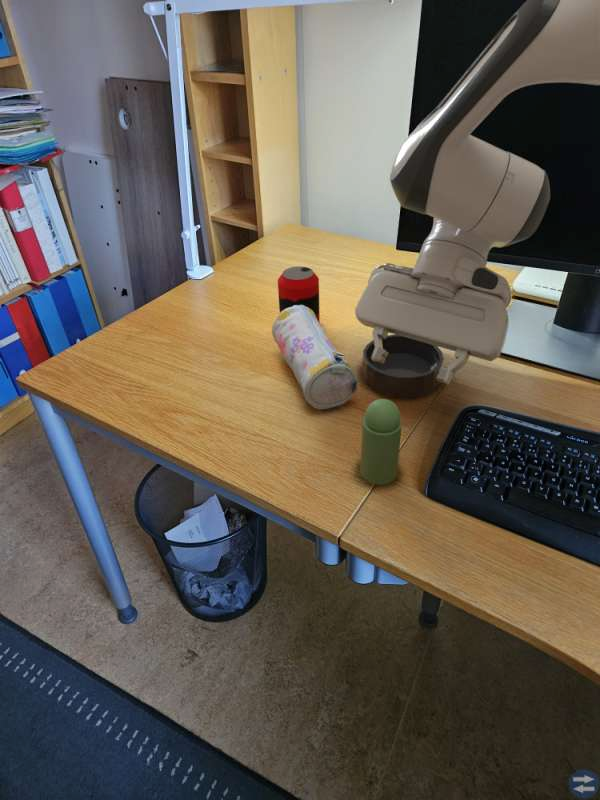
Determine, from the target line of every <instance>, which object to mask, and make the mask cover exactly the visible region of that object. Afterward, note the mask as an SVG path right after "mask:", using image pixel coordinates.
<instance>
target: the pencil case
mask: <svg viewBox="0 0 600 800" xmlns="http://www.w3.org/2000/svg"><path fill="white" fill-rule="evenodd" d="M271 333H272V335H271V336H272V338H273V340H274V342H275V343H276V345H277V348H278V349H279V350H280V353H281V355H282V357H283V358H284V360H285V362H286V363H287V365H288V367H289V368H290V369H291V371H292V373H293V374H294V377H295V379H296V380H297V383H298V385H299V386H300V388H301V390H302V393H303V397H304V399H305V400H306V402H307V403H308V404H309V405H310V406H311V407H313V408H314V409H316V410H326V409H332V408H335V407H339V406H343V405H344V404H346V403H347V402H348V401H350V399H352V397H353V396H354V395H355V392H357V391H358V390H357V389H358V378H357V375H356V372H355V370H354V369H353V367H352V366H351V364H350V363H349V362H348V361H347V360H346V359H345V354H344V353H342V352H339V351H338V350H337V349H336V347H335V345H334V344H333V343H332V341H331V339H329V337H328V335H327V334H326V331H325V329H324V328H323V326H322V324H321V322H320V323H319V322H318V320H317V318H316V315H315V313H314V312H313V311H312V310H311V309H310V308H308V307H305V306H304V305H299V306H298V305H294V306H293V307H289V308H286V309H285V310H283V311H282V312H281V313H280V312H279V314H278V315H277V316H276V318H275V320H274V322H273V324H272V329H271Z"/></svg>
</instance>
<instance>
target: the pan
mask: <svg viewBox="0 0 600 800" xmlns="http://www.w3.org/2000/svg"><path fill="white" fill-rule="evenodd" d="M382 345H383V349H385V350H386V351H387V352H388V355H387V357H386V358H385V363H384V364H381V363H378V362H375V361H373V360H372V359H371V356H372V354H373V351H374V349H375V346H374V340H373V339H372V340H371V341H370V342H368V343H367V344H366V345H365V347H364V348H363V350H362V362H361V363H362V365H361V367H362V368H361V369H362V370H361V371H362V372H361V375H362V379H363V381H364V382H365V383H366V385H367V386H368V387H369V388H371V389H372V390H373V391H375V392H377V393H379V394H382V395H384V396H389V397H394V398H407V399H408V398H415V397H420V396H421V397H422V396H424V395H427V394H429V393H431V392H432V391H434V390H435V389H436V388H437V387H438V386H439V384H440V382H438V381H437V380H436V378H437V375H438V374H439V370H440V367H444V359H445V358H444V355H443V351H442V350H441V348H440V347H438V346H435V345H431V344H428V343H424V342H421V341H417V340H414V339H410V338H407V337H403V336H400V335H396V334H388V335H387V337H386V339H383V338H382Z"/></svg>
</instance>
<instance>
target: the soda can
mask: <svg viewBox="0 0 600 800" xmlns="http://www.w3.org/2000/svg"><path fill="white" fill-rule="evenodd" d="M277 293H278V295H277V296H278V309H279V314H280V313H281V312H282V311H283V310H285V309H286V308H289V307H293V306H294V305H298V306H299V305H304V306H305V307H308V308H310V309H311V310H312V311H313V312H314V313H315V315H316V318H317V320H318V322H319V323H320V324H321V321H320V320H321V319H320V278H319V276H318V275H317V274H316V273H315V272H314V271H313V269H312V268H310V267H307V266H291V267H288V268H286V269H284V270H283V271H282V273H281V274H280V276H279V277H278V279H277Z"/></svg>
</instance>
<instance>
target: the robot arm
mask: <svg viewBox="0 0 600 800" xmlns="http://www.w3.org/2000/svg"><path fill="white" fill-rule="evenodd" d="M555 83H557V84H558V83H559V84H560V83H561V84H564V83H565V84H566V83H567V84H583V85H590V86H599V87H600V0H525V2H524V3H523V4H522V5H521V6H520V7H519V8H518V9H517V10H516V12H514V13H513V14H512V16H511V17H509V19H508V20H507V21H506V23H504V25H503V26H502V27H501V28H500V29H499V31H498V32H497V33H496V34H495V36H493V38H492V39H491V40H490V41H489V42H488V44H487V45H486V46H485V47H484V48H483V50H482V51H481V52H480V53H479V54H478V56H477V57H476V58H475V59H474V61H473V62H472V63H471V64H470V66H469V67H468V68H467V69H466V71H465V72H464V73H463V74H462V75H461V76H460V78H459V79H458V80H457V81H456V82H455V83H454V85H453V86H452V87H451V89H450V90H449V91H448V92H447V94H446V95H445V96H444V98H443V99H442V100H441V101H440V102H439V103H438V105H437V106H436V107H435V108H434V109H433V110H432V111H430V113H429V114H428V115H427V116H426V117H425V118H424V119H423V120H422V121H421V122H420V123H419V124H418V125H417V126H416V128H415V129H414V130H413V131H412V132H411V133H410V134H409V135H408V136H407V137H406V139H405V140H404V141H403V143H402V144H401V146H400V147H399V149H398V151H397V153H396V155H395V157H394V158H395V159H393V160H394V161H393V164H392V167H391V171H390V174H389V181H390V184H391V187H392V191H393V193H394V195H395V197H396V199H397V201H398V203H399V205H400V206H401V208H403V209H406V210H410V211H414V212H416V213H418V214H421V215H427V216H430V217H431V218H433V221H432V222H433V223H432V228H431V231H430V233H429V234H428V236H426V238H425V239H424V241H423V243H422V246H421V248H420V251H419V253H418V256H417V258H416V261H415V264H414V266H413V267H409V266H402V265H397V264H395V263H390V262H385V263H384V264H381V265H378V266H376V267H375V268H373V269H372V270H371V273H370V276H369V278H368V280H367V286H366V287H365V289H364V290H363V292H362V294H361V296H360V298H359V300H358V302H357V305H356V306H355V308H354V309H355V311H354V313H355V317H356V319H357V321H358V322H359V323H360V324H362V325H363V326H365V327H367V328H368V327H369V328H372V329H373V330H372V333H371V334H372V341H373V340H374V346H375V349H374V351H373V354H372V356H371V359H372V360H373V361H375V362H378V363H381V364H384V363H385V358H386V357H387V355H388V352H387V351H386V350H385V349H383V345H382V338H383V339H386V337H387V336H388V335H389V334H392V335H395V334H396V335H400V336H403V337H407V338H410V339H414V340H417V341H421V342H424V343H428V344H431V345H435V346H438V348H442V349H445V350H449V351H451V352H452V351H453V352H454V357H455V360H454V361H452V362H451V363H450V364H449V365H448V366H447V367H444V366H443V367H440V370H439V374H438V375H437V378H436V380H437V381H438V382H439V383H442V384H445V385H448V386H449V385H450V384H451V381H452V379H453V376H454V374H455V373H457V372H459V370H461V369H462V368H463V367H464V366H466V365H467V364H468V361H469V359H470V357H474V358H477V359H480V360H483V361H487V362H494V361H495V360H496V359H498V358H499V357H500V356H501V355H502V352H503V349H504V345H505V342H506V339H507V334H508V329H509V324H510V319H509V313H508V310H507V309H508V308H509V306H510V305H511V302H512V290H511V286H510V284H509V282H508V280H507V279H506V278H505V277H504V276H502V275H501V274H499V273H497V272H495V271H494V270H492V269H490V268H489V267H487V263H488V257H489V253H490V251H491V249H492V248H498V249H500V248H501V249H502V248H505V247H508V246H511V245H514V244H517V243H520V242H523V241H526V240H527V239H529V238H530V237H532V236H533V235H534V234H535V232H536V231H537V229H538V228H539V226H540V224H541V222H542V220H543V218H544V216H545V214H546V212H547V208H548V206H549V203H550V200H551V187H550V180H549V177H548V174H547V172H546V170H545V169H543V168H541V167H540V166H538V165H537V164H535V163H533V162H531V161H529V160H527V159H525V158H523V157H521V156H518V155H516V154H514V153H512V152H510V151H506V150H504V149H502V148H499V147H497V146H495V145H493V144H491V143H489V142H487V141H484V140H483V139H480V138H478V137H476V136H474V135H472V133H473V132H474V131H475V130H476V128H477V127H478V126H479V125H480V124H481V123H482V122H483V121H484V120H485V119H486V118H487V117H488V116H489V115H490V114H491V113H492V112H493V111H494V109H495V108H496V107H497V106H498V105H499V104H500V103H501V102H502V101H503V100H504V99H505V98H506V97H507V96H508V95H510V94H511V93H513V92H515V91H516V90H520V89H521V88H525V87H529V86H532V85H538V84H539V85H540V84H555Z"/></svg>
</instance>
